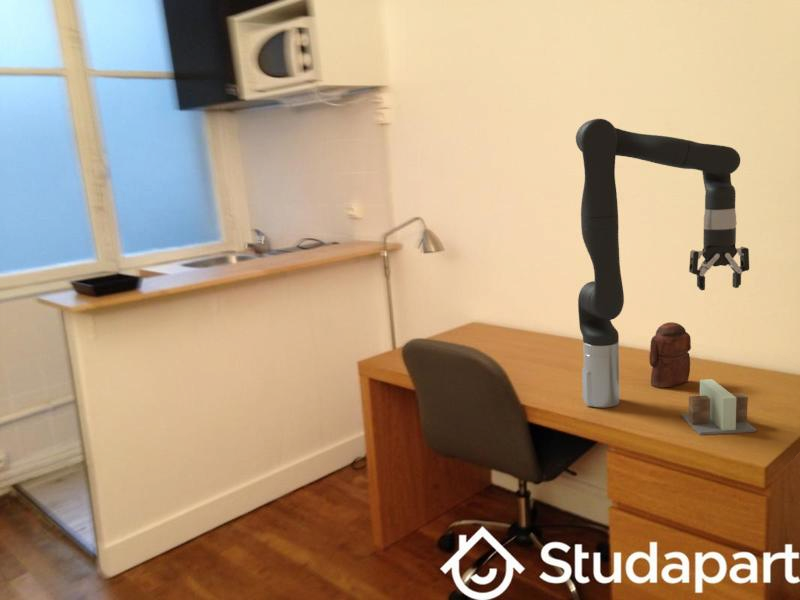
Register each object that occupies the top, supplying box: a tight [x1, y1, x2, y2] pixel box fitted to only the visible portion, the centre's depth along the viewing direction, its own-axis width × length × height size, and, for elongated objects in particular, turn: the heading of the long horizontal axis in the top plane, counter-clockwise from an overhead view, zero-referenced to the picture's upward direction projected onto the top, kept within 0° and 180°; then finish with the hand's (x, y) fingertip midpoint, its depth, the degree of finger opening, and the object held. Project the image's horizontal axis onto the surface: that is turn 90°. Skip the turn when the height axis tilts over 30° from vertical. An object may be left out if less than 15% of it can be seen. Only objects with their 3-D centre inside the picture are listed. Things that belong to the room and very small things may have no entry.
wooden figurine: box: [648, 321, 692, 389], centre depth 198 cm, size 12×6×18 cm, turn 115°
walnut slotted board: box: [688, 393, 749, 425], centre depth 169 cm, size 13×2×6 cm, turn 87°
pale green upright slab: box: [699, 378, 736, 431], centre depth 170 cm, size 3×14×8 cm, turn 178°
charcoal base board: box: [681, 413, 757, 436], centre depth 170 cm, size 13×12×1 cm
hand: (718, 288), depth 180 cm, fingers open, 8 cm apart
